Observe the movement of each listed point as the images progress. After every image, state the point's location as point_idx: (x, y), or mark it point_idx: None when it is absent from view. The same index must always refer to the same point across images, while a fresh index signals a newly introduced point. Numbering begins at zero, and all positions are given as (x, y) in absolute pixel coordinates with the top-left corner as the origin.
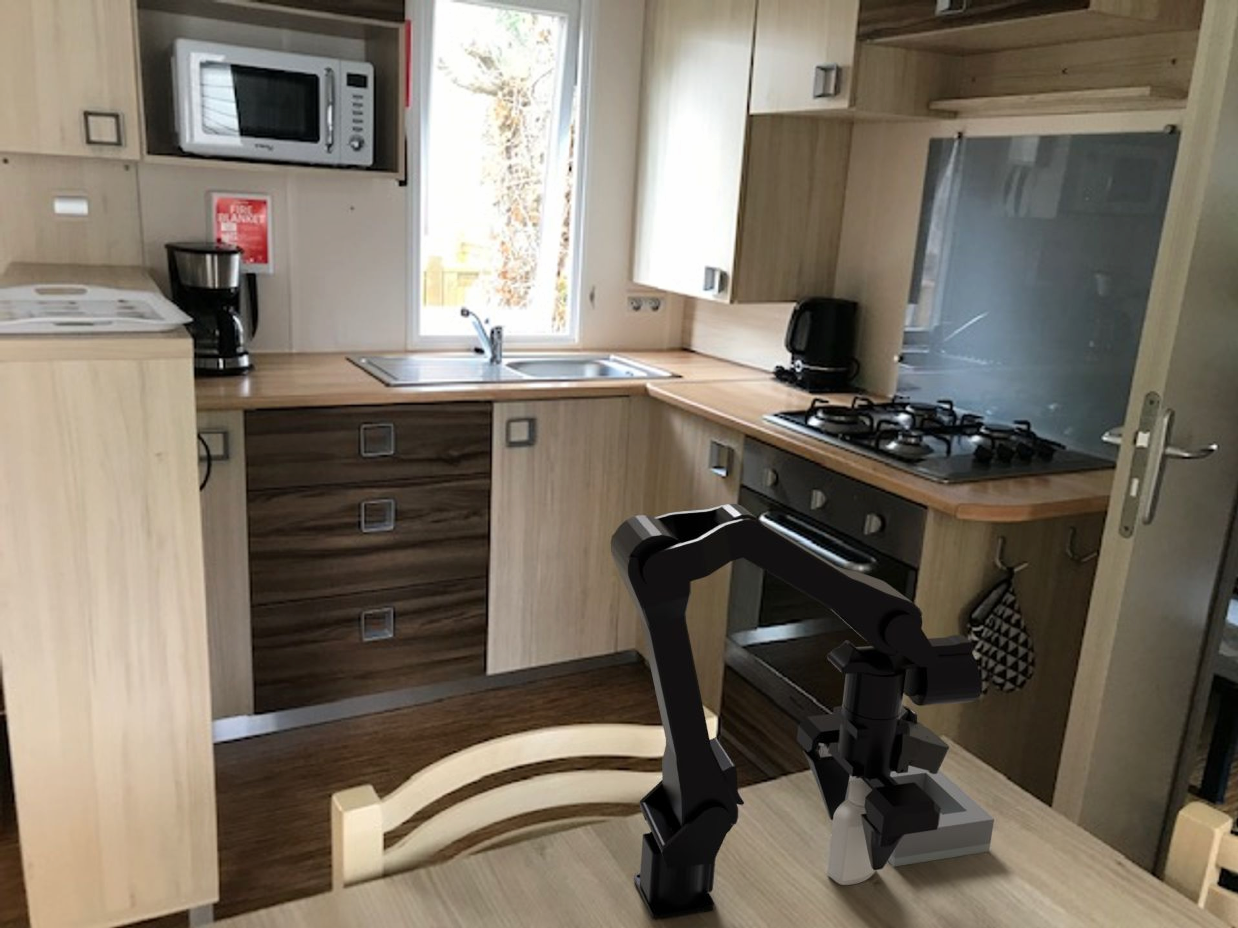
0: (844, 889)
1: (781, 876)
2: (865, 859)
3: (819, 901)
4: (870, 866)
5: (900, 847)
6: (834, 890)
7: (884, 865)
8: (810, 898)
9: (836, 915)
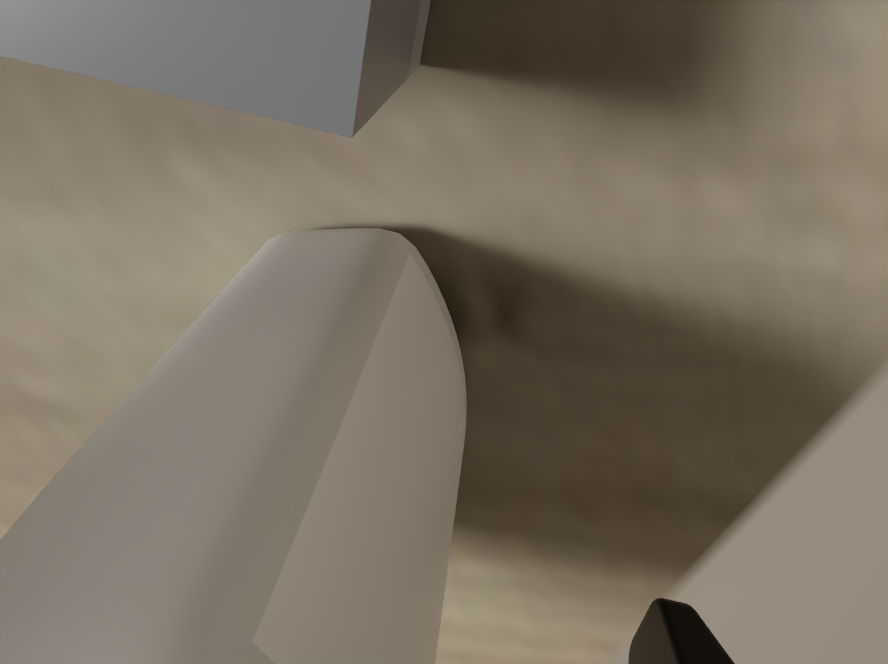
0: (467, 498)
1: None
2: (450, 498)
3: (484, 634)
4: (451, 387)
5: (398, 34)
6: None
7: (711, 633)
8: (447, 649)
9: (603, 639)
